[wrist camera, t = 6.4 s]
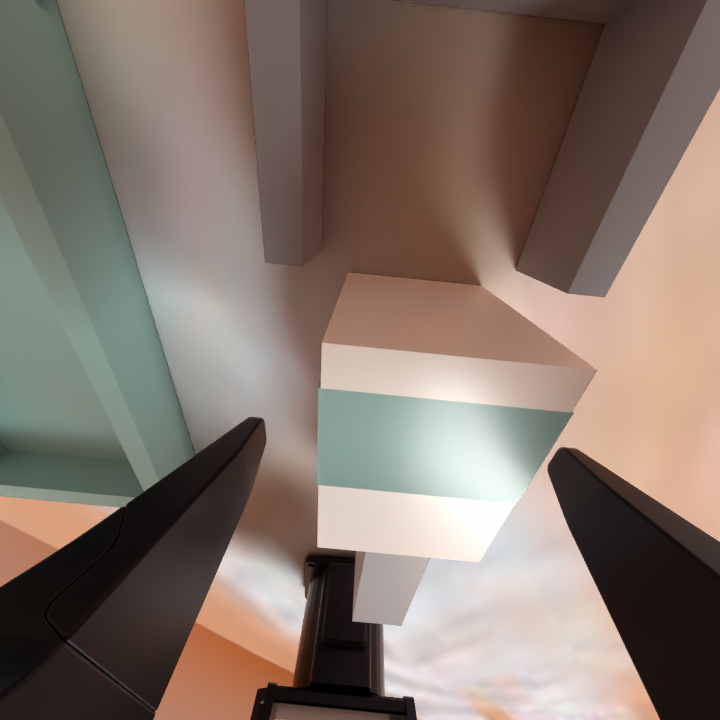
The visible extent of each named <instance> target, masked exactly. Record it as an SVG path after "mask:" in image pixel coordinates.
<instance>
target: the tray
mask: <svg viewBox="0 0 720 720" xmlns="http://www.w3.org/2000/svg"><path fill="white" fill-rule="evenodd" d="M193 456H195V453H194V450H193V447H192V444H191V440H190V437H189V434H188V431H187V427H186V424H185V421H184V417H183V414H182V411H181V408H180V404H179V401H178V398H177V395H176V391H175V388H174V385H173V382H172V378H171V375H170V372H169V369H168V365H167V362H166V359H165V355H164V352H163V349H162V346H161V342H160V339H159V336H158V333H157V329H156V326H155V323H154V320H153V316H152V313H151V310H150V306H149V303H148V300H147V297H146V293H145V290H144V287H143V284H142V280H141V277H140V274H139V271H138V267H137V264H136V261H135V258H134V254H133V251H132V248H131V244H130V241H129V238H128V235H127V231H126V228H125V225H124V222H123V218H122V215H121V212H120V209H119V205H118V202H117V199H116V195H115V192H114V189H113V186H112V182H111V179H110V176H109V173H108V169H107V166H106V163H105V160H104V156H103V153H102V150H101V147H100V143H99V140H98V137H97V133H96V130H95V127H94V124H93V120H92V117H91V114H90V111H89V107H88V104H87V101H86V98H85V94H84V91H83V88H82V84H81V81H80V78H79V75H78V71H77V68H76V65H75V62H74V58H73V55H72V52H71V49H70V45H69V42H68V39H67V36H66V32H65V29H64V26H63V22H62V19H61V16H60V13H59V9H58V6H57V3H56V0H0V496H3V497H14V498H24V499H35V500H45V501H56V502H67V503H77V504H88V505H98V506H109V507H119V508H121V507H123V506H125V507H126V504H127V503H128V502H130V501H131V500H133V499H134V498H135V497H137V496H138V495H140V494H141V493H143V492H144V491H145V490H147V489H148V488H150V487H151V486H152V485H154V484H155V483H157V482H158V481H159V480H161V479H162V478H164V477H165V476H167V475H168V474H169V473H171V472H172V471H174V470H175V469H176V468H178V467H179V466H181V465H182V464H183V463H185V462H186V461H188V460H189V459H191V458H192V457H193Z"/></svg>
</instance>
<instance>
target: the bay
mask: <svg viewBox="0 0 720 720" xmlns="http://www.w3.org/2000/svg"><path fill="white" fill-rule="evenodd" d="M396 1H405V2H414V3H423V4H432V5H441V6H450V7H459V8H468V9H477V10H486V11H495V12H504V13H513V14H522V15H531V16H540V17H549V18H558V19H566V20H575V21H584V22H593V23H602V24H605V26H604V29H603V31H602V34H601V37H600V40H599V42H598V45H597V48H596V51H595V53H594V56H593V59H592V62H591V64H590V67H589V70H588V73H587V75H586V78H585V81H584V84H583V86H582V89H581V92H580V95H579V97H578V100H577V103H576V105H575V108H574V111H573V114H572V116H571V119H570V122H569V125H568V127H567V130H566V133H565V136H564V138H563V141H562V144H561V147H560V149H559V152H558V155H557V158H556V160H555V163H554V166H553V169H552V171H551V174H550V177H549V180H548V182H547V185H546V188H545V191H544V193H543V196H542V199H541V201H540V204H539V207H538V210H537V212H536V215H535V218H534V221H533V223H532V226H531V229H530V232H529V234H528V237H527V240H526V243H525V245H524V248H523V251H522V254H521V256H520V259H519V262H518V265H517V267H516V271H519V272H521V273H523V274H525V275H527V276H530V277H532V278H534V279H536V280H539V281H541V282H543V283H545V284H548V285H550V286H552V287H554V288H556V289H559V290H561V291H563V292H565V293H568V294H578V295H588V296H597V297H605V296H606V294H607V292H608V291H609V289H610V287H611V285H612V283H613V281H614V280H615V278H616V276H617V274H618V272H619V271H620V269H621V267H622V265H623V263H624V261H625V260H626V258H627V256H628V254H629V252H630V251H631V249H632V247H633V245H634V243H635V241H636V240H637V238H638V236H639V234H640V232H641V231H642V229H643V227H644V225H645V223H646V221H647V220H648V218H649V216H650V214H651V212H652V211H653V209H654V207H655V205H656V203H657V201H658V200H659V198H660V196H661V194H662V192H663V191H664V189H665V187H666V185H667V183H668V181H669V180H670V178H671V176H672V174H673V172H674V171H675V169H676V167H677V165H678V163H679V161H680V160H681V158H682V156H683V154H684V152H685V151H686V149H687V147H688V145H689V143H690V141H691V140H692V138H693V136H694V134H695V132H696V131H697V129H698V127H699V125H700V123H701V121H702V120H703V118H704V116H705V114H706V112H707V111H708V109H709V107H710V105H711V103H712V101H713V100H714V98H715V96H716V94H717V92H718V91H719V89H720V0H396ZM244 5H245V18H246V30H247V43H248V55H249V68H250V80H251V93H252V105H253V118H254V130H255V143H256V156H257V168H258V181H259V193H260V206H261V218H262V231H263V243H264V256H265V262H266V263H276V264H286V265H295V266H304V265H305V264H306V263H308V262H309V261H310V260H311V259H312V258H313V257H315V256H316V255H317V254H318V253H319V252H320V251H322V222H323V171H324V120H325V69H326V17H327V0H244Z"/></svg>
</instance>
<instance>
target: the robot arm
mask: <svg viewBox="0 0 720 720" xmlns="http://www.w3.org/2000/svg"><path fill="white" fill-rule="evenodd" d="M265 445H266V430H265V422H264V419H263V418H258V417H249V418H247V419H246V420H244V421H243V422H241V423H240V424H239V425H237V426H236V427H234V428H233V429H232V430H230V431H229V432H227V433H226V434H224V435H223V436H222V437H220V438H219V439H217V440H216V441H215V442H213V443H212V444H210V445H209V446H208V447H206V448H205V449H203V450H202V451H200V452H199V453H198V454H196V455H195V456H193V457H192V458H191V459H189V460H188V461H186V462H185V463H183V464H182V465H181V466H179V467H178V468H176V469H175V470H174V471H172V472H171V473H169V474H168V475H167V476H165V477H164V478H162V479H161V480H159V481H158V482H157V483H155V484H154V485H152V486H151V487H150V488H148V489H147V490H145V491H144V492H143V493H141V494H140V495H138V496H137V497H135V498H134V499H133V500H131V501H130V502H128V503H127V504H126V507H125V506H123V507H121V508H120V509H118V510H117V511H115V512H114V513H113V514H111V515H110V516H108V517H107V518H106V519H104V520H103V521H101V522H100V523H98V524H97V525H95V526H94V527H92V528H91V529H90V530H88V531H87V532H85V533H84V534H82V535H81V536H79V537H78V538H76V539H75V540H73V541H72V542H70V543H69V544H67V545H66V546H64V547H63V548H61V549H60V550H58V551H56V552H55V553H53V554H52V555H50V556H49V557H47V558H46V559H44V560H42V561H41V562H39V563H38V564H36V565H35V566H33V567H31V568H30V569H28V570H27V571H25V572H24V573H22V574H20V575H19V576H17V577H15V578H14V579H12V580H11V581H9V582H8V583H6V584H4V585H3V586H2V587H0V720H153V718H154V716H155V711H156V710H157V709H158V706H159V704H160V702H161V700H162V697H163V695H164V693H165V690H166V688H167V686H168V683H169V681H170V679H171V676H172V674H173V672H174V669H175V667H176V665H177V663H178V660H179V658H180V656H181V653H182V651H183V649H184V646H185V644H186V642H187V639H188V637H189V635H190V632H191V630H192V628H193V625H194V623H195V621H196V619H197V616H198V614H199V612H200V609H201V607H202V605H203V602H204V600H205V598H206V595H207V593H208V591H209V589H210V586H211V584H212V582H213V579H214V577H215V575H216V572H217V570H218V568H219V565H220V563H221V561H222V558H223V556H224V554H225V552H226V549H227V547H228V545H229V542H230V540H231V538H232V535H233V533H234V531H235V528H236V526H237V524H238V521H239V519H240V517H241V515H242V512H243V510H244V508H245V505H246V503H247V501H248V498H249V496H250V493H251V490H252V487H253V484H254V480H255V477H256V474H257V471H258V468H259V464H260V461H261V458H262V455H263V451H264V448H265ZM548 474H549V477H550V479H551V482H552V485H553V487H554V490H555V493H556V496H557V498H558V501H559V504H560V506H561V509H562V512H563V514H564V517H565V520H566V522H567V525H568V527H569V529H570V531H571V533H572V536H573V538H574V540H575V542H576V544H577V546H578V548H579V550H580V552H581V554H582V557H583V559H584V561H585V563H586V565H587V567H588V569H589V571H590V573H591V575H592V578H593V580H594V582H595V584H596V586H597V588H598V590H599V592H600V594H601V596H602V599H603V601H604V603H605V605H606V607H607V609H608V611H609V613H610V615H611V618H612V620H613V622H614V624H615V626H616V628H617V630H618V632H619V634H620V636H621V639H622V641H623V643H624V645H625V647H626V649H627V651H628V653H629V655H630V657H631V660H632V662H633V664H634V666H635V668H636V670H637V672H638V674H639V676H640V678H641V681H642V683H643V685H644V687H645V689H646V691H647V693H648V695H649V697H650V699H651V702H652V704H653V706H654V708H655V710H656V712H657V714H658V716H659V718H660V720H720V542H719V541H717V540H716V539H714V538H713V537H711V536H710V535H708V534H707V533H705V532H704V531H702V530H701V529H699V528H697V527H696V526H694V525H693V524H691V523H690V522H688V521H687V520H685V519H684V518H682V517H681V516H679V515H677V514H676V513H674V512H673V511H671V510H670V509H668V508H667V507H665V506H664V505H662V504H661V503H659V502H658V501H656V500H654V499H653V498H651V497H650V496H648V495H647V494H645V493H644V492H642V491H641V490H639V489H638V488H636V487H635V486H633V485H631V484H630V483H628V482H627V481H625V480H624V479H622V478H621V477H619V476H618V475H616V474H615V473H613V472H611V471H610V470H608V469H607V468H605V467H604V466H602V465H601V464H599V463H598V462H596V461H595V460H593V459H592V458H590V457H588V456H587V455H585V454H584V453H582V452H581V451H579V450H578V449H575V448H567V447H561V448H559V449H558V450H557V452H556V453H555V455H554V456H553V458H552V459H551V461H550V463H549V464H548ZM304 573H305V598H306V599H307V602H306V608H305V614H304V620H303V625H302V631H301V637H300V643H299V649H298V655H297V661H296V667H295V673H294V679H293V685H292V687H287V686H278V684H277V683H272V682H269V683H268V686H267V687H266V688H261V689H258V690H257V695H256V699H255V703H254V707H253V711H252V716H251V720H275V719H284V720H417V717H416V710H415V703H414V698H413V697H408V696H404V697H403V698H394V697H385V690H384V647H383V624H377V623H366V622H355V621H352V617H353V597H354V576H355V560H351V559H341V558H330V557H319V556H307V557H306V559H305V564H304Z"/></svg>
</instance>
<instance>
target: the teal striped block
mask: <svg viewBox="0 0 720 720" xmlns="http://www.w3.org/2000/svg"><path fill="white" fill-rule="evenodd" d="M596 372H597V370H596V369H595V368H594V367H592V366H591V365H590V364H588V363H587V362H585V361H584V360H583V359H581V358H580V357H579V356H577V355H576V354H574V353H573V352H572V351H570V350H569V349H568V348H566V347H565V346H564V345H562V344H561V343H559V342H558V341H557V340H555V339H554V338H553V337H551V336H550V335H548V334H547V333H546V332H544V331H543V330H542V329H540V328H539V327H537V326H536V325H535V324H533V323H532V322H531V321H529V320H528V319H526V318H525V317H524V316H522V315H521V314H520V313H518V312H517V311H515V310H514V309H513V308H511V307H510V306H509V305H507V304H506V303H504V302H503V301H502V300H500V299H499V298H498V297H496V296H495V295H493V294H492V293H491V292H489V291H488V290H487V289H485V288H484V287H482V286H478V285H469V284H459V283H449V282H439V281H429V280H419V279H409V278H400V277H390V276H380V275H370V274H360V273H350V272H348V274H347V277H346V279H345V282H344V285H343V287H342V290H341V293H340V295H339V298H338V301H337V303H336V306H335V309H334V311H333V314H332V317H331V319H330V322H329V325H328V327H327V330H326V333H325V335H324V338H323V341H322V350H321V380H320V383H319V387H318V427H317V485H319V486H318V532H317V547H319V548H330V549H341V550H352V551H356V556H355V576H354V597H353V617H352V621H355V622H366V623H377V624H388V625H399V626H401V625H402V622H403V620H404V618H405V615H406V613H407V611H408V608H409V606H410V604H411V602H412V599H413V597H414V595H415V592H416V590H417V588H418V585H419V583H420V581H421V578H422V576H423V574H424V572H425V569H426V567H427V565H428V562H429V560H430V558H438V559H449V560H459V561H470V562H479V561H480V559H481V558H482V556H483V555H484V553H485V551H486V550H487V548H488V546H489V545H490V543H491V542H492V540H493V538H494V537H495V535H496V534H497V532H498V530H499V529H500V527H501V525H502V524H503V522H504V521H505V519H506V517H507V516H508V514H509V512H510V511H511V509H512V508H513V506H514V504H517V503H518V501H519V500H520V498H521V496H522V495H523V493H524V492H525V490H526V488H527V487H528V485H529V484H530V482H531V480H532V479H533V477H534V476H535V474H536V472H537V471H538V469H539V468H540V466H541V464H542V463H543V461H544V460H545V458H546V456H547V455H548V453H549V452H550V450H551V448H552V447H553V445H554V444H555V442H556V440H557V439H558V437H559V436H560V434H561V432H562V431H563V429H564V428H565V426H566V424H567V423H568V421H569V420H570V418H571V416H572V415H573V412H572V410H573V409H574V407H575V406H576V404H577V402H578V401H579V399H580V398H581V396H582V394H583V393H584V391H585V389H586V388H587V386H588V385H589V383H590V381H591V380H592V378H593V376H594V375H595V373H596Z"/></svg>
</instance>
